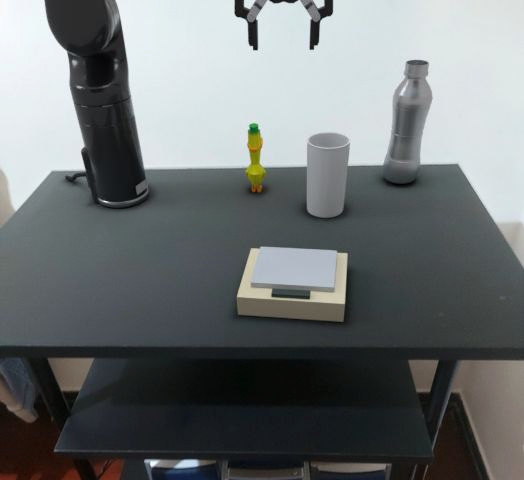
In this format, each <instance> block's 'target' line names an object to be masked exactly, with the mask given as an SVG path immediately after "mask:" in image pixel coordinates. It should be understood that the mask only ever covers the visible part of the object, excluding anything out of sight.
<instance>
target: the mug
mask: <svg viewBox="0 0 524 480" xmlns="http://www.w3.org/2000/svg"><path fill="white" fill-rule="evenodd" d="M306 141H307V145H306V210H307V212H308V213H309V215H311V216H313V217H316V218H322V219H329V218H335V217H338V216H340V215H341V214H342V213H343V211H344V206H345V199H346V198H345V197H346V189H347V188H346V186H347V178H348V170H349V169H348V167H349V159H350V158H349V157H350V149H351V148H350V147H351V138H350V137H349V136H348V135H346V134H345V133H340V132H337V131H336V132H335V131H323V132H321V131H320V132H316V133H314V134H311V135H310V136H308V138H307V140H306Z"/></svg>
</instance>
